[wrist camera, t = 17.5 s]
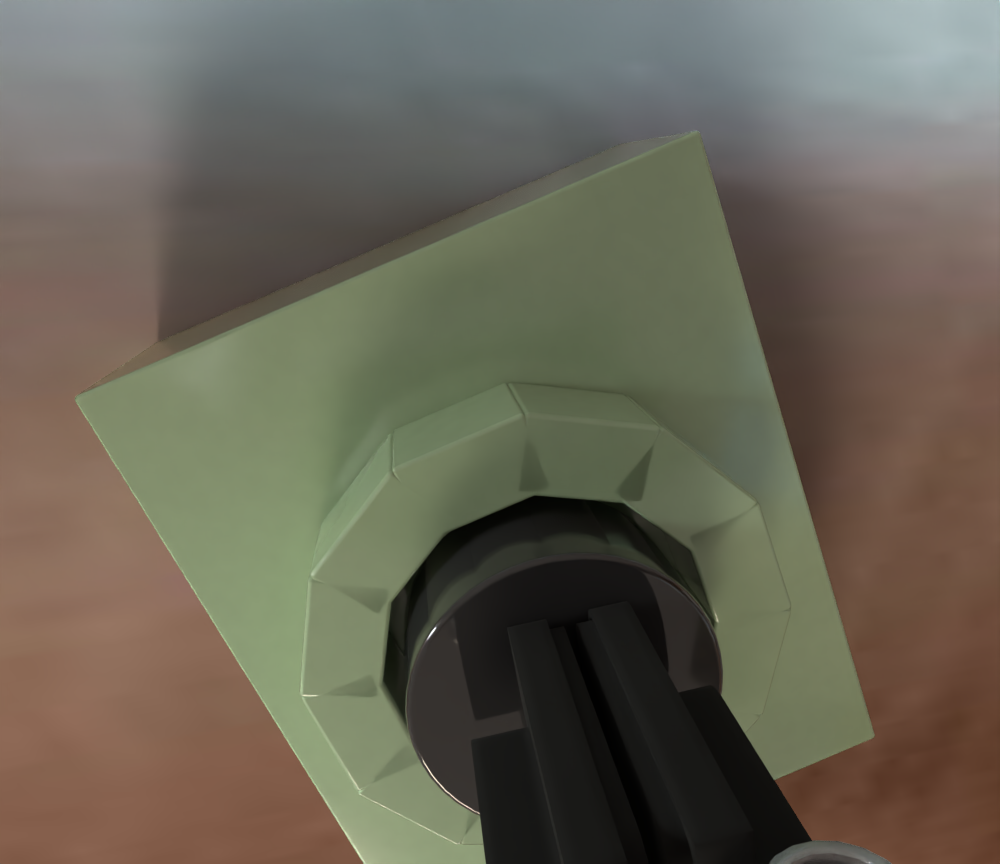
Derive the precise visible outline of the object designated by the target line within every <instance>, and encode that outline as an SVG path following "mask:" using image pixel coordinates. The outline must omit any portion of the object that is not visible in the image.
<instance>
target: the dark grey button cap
mask: <svg viewBox="0 0 1000 864" xmlns="http://www.w3.org/2000/svg"><path fill="white" fill-rule="evenodd" d="M625 601H628V602H629V603H630V605H631V607H632V608H633V610H634V612H635V614H636V616H637V618H638V619H639V621H640V623H641V625H642V627H643V629H644V630H645V632H646V634H647V636H648V638H649V640H650V641H651V643H652V645H653V647H654V649H655V651H656V652H657V654H658V656H659V658H660V660H661V662H662V663H663V665H664V667H665V669H666V671H667V673H668V674H669V676H670V678H671V680H672V682H673V684H674V685H675V687H676V689H677V691H678V692H682V691H687V690H691V689H695V688H700V687H704V686H708V685H711V686H713V687H715V688H716V689H717V691H718V692H719V693H720V695H721V694H722V685H723V665H722V656H721V650H720V646H719V642H718V639H717V635H716V633H715V630H714V628H713V626H712V624H711V622H710V619H709V618H708V616H707V615H706V613H705V611H704V610H703V608H702V607H701V605H700V604H699V602H698V601H697V600H696V598H695V597H694V596H693V594H692V593H691V591H690V590H689V589H688V587H687V586H686V584H685V583H684V582H683V580H682V579H681V577H680V576H679V575H678V573H677V572H676V571H675V569H674V568H673V566H672V565H671V564H670V562H669V561H668V559H667V558H666V557H665V555H664V554H663V553H662V551H661V550H660V548H659V547H658V546H657V544H656V543H655V541H654V540H653V539H652V538H651V537H650V536H649V534H648V533H647V532H646V531H645V530H644V529H643V528H642V527H641V526H640V525H639V524H637V523H636V522H635V521H634V520H632V519H631V518H630V517H628V516H627V515H625V514H624V513H622V512H620V511H619V510H617V509H615V508H613V507H611V506H609V505H606V504H604V503H602V502H599V501H595V500H583V499H571V498H559V497H547V496H535V495H534V496H532V497H530V498H527V499H525V500H523V501H520V502H518V503H516V504H513V505H511V506H509V507H506V508H504V509H502V510H499V511H497V512H494V513H492V514H490V515H487V516H485V517H483V518H480V519H478V520H476V521H473V522H471V523H469V524H466V525H464V526H462V527H459V528H457V529H455V530H452V531H450V532H449V533H448V534H447V535H446V536H444V537H443V538H442V540H441V541H440V542H439V543H438V545H437V546H436V547H435V548H434V550H433V551H432V552H431V553H430V555H429V556H428V557H427V558H426V560H425V561H424V562H423V564H422V565H421V567H420V569H419V571H418V573H417V575H416V577H415V579H414V580H413V583H412V586H411V589H410V592H409V595H408V598H407V603H406V608H405V613H404V669H405V712H406V721H407V729H408V732H409V736H410V740H411V743H412V746H413V748H414V751H415V753H416V755H417V757H418V759H419V761H420V763H421V764H422V766H423V767H424V769H425V770H426V772H427V774H428V775H429V776H430V778H431V779H432V780H433V781H434V782H435V783H436V784H437V786H438V787H439V788H440V789H441V790H442V791H443V792H444V793H445V794H446V795H448V796H449V797H450V798H451V799H453V800H454V801H455V802H456V803H458V804H459V805H461V806H463V807H464V808H466V809H467V810H469V811H471V812H472V813H475V814H477V815H479V816H480V813H479V805H478V797H477V788H476V780H475V772H474V764H473V756H472V747H471V740H473V739H477V738H482V737H486V736H491V735H495V734H499V733H504V732H508V731H512V730H517V729H521V728H525V727H527V725H526V720H525V715H524V710H523V705H522V700H521V695H520V690H519V685H518V680H517V675H516V670H515V665H514V660H513V655H512V650H511V645H510V640H509V635H508V630H507V627H512V626H516V625H521V624H525V623H530V622H534V621H539V620H543V619H546V620H547V623H548V625H549V628H550V629H553V628H558V627H562V626H564V628H565V630H566V633H567V635H568V638H569V641H570V644H571V646H572V649H573V652H574V654H575V657H576V660H577V663H578V665H579V668H580V671H581V673H582V676H583V670H582V664H581V658H580V652H579V646H578V640H577V634H576V623H580V622H585V621H589V619H588V610H589V609H593V608H598V607H602V606H607V605H611V604H616V603H620V602H625ZM583 679H584V676H583Z"/></svg>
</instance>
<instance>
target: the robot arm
mask: <svg viewBox="0 0 1000 864" xmlns="http://www.w3.org/2000/svg"><path fill="white" fill-rule="evenodd" d="M588 619H589V621H585V622H580V623H576V634H577V640H578V646H579V652H580V658H581V664H582V670H583V676H584V679H583V676H582V673H581V671H580V668H579V665H578V663H577V660H576V657H575V654H574V652H573V649H572V646H571V644H570V641H569V638H568V635H567V633H566V630H565V628H564V626H562V627H558V628H553V629H550V628H549V625H548V623H547V620H546V619H543V620H539V621H534V622H530V623H525V624H521V625H516V626H512V627H507V630H508V635H509V640H510V645H511V650H512V655H513V660H514V665H515V670H516V675H517V680H518V685H519V690H520V695H521V700H522V705H523V710H524V715H525V720H526V725H527V727H525V728H521V729H517V730H512V731H508V732H504V733H499V734H495V735H491V736H486V737H482V738H477V739H473V740H471V747H472V756H473V764H474V772H475V780H476V788H477V797H478V805H479V813H480V821H481V829H482V837H483V845H484V853H485V861H486V864H891V863H890V862H889V861H888V860H886V859H884V858H882V857H880V856H878V855H876V854H874V853H872V852H870V851H869V850H867V849H865V848H862V847H858V846H855V845H851V844H847V843H843V842H839V841H812V840H811V838H810V837H809V835H808V834H807V832H806V830H805V829H804V827H803V826H802V824H801V822H800V821H799V819H798V818H797V816H796V814H795V813H794V811H793V810H792V808H791V806H790V805H789V803H788V802H787V800H786V798H785V797H784V795H783V794H782V792H781V790H780V789H779V787H778V786H777V784H776V782H775V781H774V779H773V778H772V776H771V774H770V773H769V771H768V770H767V768H766V766H765V765H764V763H763V762H762V760H761V758H760V757H759V755H758V754H757V752H756V750H755V749H754V747H753V746H752V744H751V742H750V741H749V739H748V738H747V736H746V734H745V733H744V731H743V730H742V728H741V726H740V725H739V723H738V722H737V720H736V718H735V717H734V715H733V714H732V712H731V710H730V709H729V707H728V706H727V704H726V702H725V701H724V699H723V698H722V696H721V695H720V693H719V692H718V691H717V689H716V688H715V687H713V686H711V685H708V686H704V687H700V688H695V689H691V690H687V691H682V692H678V691H677V689H676V687H675V685H674V684H673V682H672V680H671V678H670V676H669V674H668V673H667V671H666V669H665V667H664V665H663V663H662V662H661V660H660V658H659V656H658V654H657V652H656V651H655V649H654V647H653V645H652V643H651V641H650V640H649V638H648V636H647V634H646V632H645V630H644V629H643V627H642V625H641V623H640V621H639V619H638V618H637V616H636V614H635V612H634V610H633V608H632V607H631V605H630V603H629V602H628V601H625V602H620V603H616V604H611V605H607V606H602V607H598V608H593V609H589V610H588Z"/></svg>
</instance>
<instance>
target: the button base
mask: <svg viewBox="0 0 1000 864" xmlns="http://www.w3.org/2000/svg"><path fill="white" fill-rule="evenodd" d="M75 401H76V403H77V404H78V406H79V408H80V409H81V411H82V413H83V414H84V416H85V417H86V419H87V421H88V422H89V424H90V425H91V427H92V429H93V430H94V432H95V433H96V435H97V437H98V438H99V440H100V441H101V443H102V445H103V446H104V448H105V449H106V451H107V453H108V454H109V456H110V457H111V459H112V461H113V462H114V464H115V465H116V467H117V469H118V470H119V472H120V473H121V475H122V477H123V478H124V480H125V482H126V483H127V485H128V486H129V488H130V490H131V491H132V493H133V494H134V496H135V498H136V499H137V501H138V502H139V504H140V506H141V507H142V509H143V510H144V512H145V514H146V515H147V517H148V518H149V520H150V522H151V523H152V525H153V526H154V528H155V530H156V531H157V533H158V534H159V536H160V538H161V539H162V541H163V542H164V544H165V546H166V547H167V549H168V551H169V552H170V554H171V555H172V557H173V559H174V560H175V562H176V563H177V565H178V567H179V568H180V570H181V571H182V573H183V575H184V576H185V578H186V579H187V581H188V583H189V584H190V586H191V587H192V589H193V591H194V592H195V594H196V595H197V597H198V599H199V600H200V602H201V603H202V605H203V607H204V608H205V610H206V611H207V613H208V615H209V616H210V618H211V620H212V621H213V623H214V624H215V626H216V628H217V629H218V631H219V632H220V634H221V636H222V637H223V639H224V640H225V642H226V644H227V645H228V647H229V648H230V650H231V652H232V653H233V655H234V656H235V658H236V660H237V661H238V663H239V664H240V666H241V668H242V669H243V671H244V672H245V674H246V676H247V677H248V679H249V681H250V682H251V684H252V685H253V687H254V689H255V690H256V692H257V693H258V695H259V697H260V698H261V700H262V701H263V703H264V705H265V706H266V708H267V709H268V711H269V713H270V714H271V716H272V717H273V719H274V721H275V722H276V724H277V725H278V727H279V729H280V730H281V732H282V733H283V735H284V737H285V738H286V740H287V741H288V743H289V745H290V746H291V748H292V750H293V751H294V753H295V754H296V756H297V758H298V759H299V761H300V762H301V764H302V766H303V767H304V769H305V770H306V772H307V774H308V775H309V777H310V778H311V780H312V782H313V783H314V785H315V786H316V788H317V790H318V791H319V793H320V794H321V796H322V798H323V799H324V801H325V802H326V804H327V806H328V807H329V809H330V810H331V812H332V814H333V815H334V817H335V819H336V820H337V822H338V823H339V825H340V827H341V828H342V830H343V831H344V833H345V835H346V836H347V838H348V839H349V841H350V843H351V844H352V846H353V847H354V849H355V851H356V852H357V854H358V855H359V857H360V859H361V860H362V862H363V863H364V864H486V861H485V853H484V845H483V837H482V829H481V821H480V816H479V815H477V814H475V813H472V812H471V811H469V810H467V809H466V808H464V807H463V806H461V805H459V804H458V803H456V802H455V801H454V800H453V799H451V798H450V797H449V796H448V795H446V794H445V793H444V792H443V791H442V790H441V789H440V788H439V787H438V786H437V784H436V783H435V782H434V781H433V780H432V779H431V778H430V776H429V775H428V774H427V772H426V770H425V769H424V767H423V766H422V764H421V763H420V761H419V759H418V757H417V755H416V753H415V751H414V748H413V746H412V743H411V740H410V736H409V732H408V729H407V721H406V712H405V669H404V613H405V608H406V603H407V598H408V595H409V592H410V589H411V586H412V583H413V580H414V579H415V577H416V575H417V573H418V571H419V569H420V567H421V565H422V564H423V562H424V561H425V560H426V558H427V557H428V556H429V555H430V553H431V552H432V551H433V550H434V548H435V547H436V546H437V545H438V543H439V542H440V541H441V540H442V538H443V537H444V536H446V535H447V534H448V533H449V532H450V531H452V530H455V529H457V528H459V527H462V526H464V525H466V524H469V523H471V522H473V521H476V520H478V519H480V518H483V517H485V516H487V515H490V514H492V513H494V512H497V511H499V510H502V509H504V508H506V507H509V506H511V505H513V504H516V503H518V502H520V501H523V500H525V499H527V498H530V497H532V496H534V495H535V496H547V497H559V498H571V499H583V500H595V501H599V502H602V503H604V504H606V505H609V506H611V507H613V508H615V509H617V510H619V511H620V512H622V513H624V514H625V515H627V516H628V517H630V518H631V519H632V520H634V521H635V522H636V523H637V524H639V525H640V526H641V527H642V528H643V529H644V530H645V531H646V532H647V533H648V534H649V536H650V537H651V538H652V539H653V540H654V541H655V543H656V544H657V546H658V547H659V548H660V550H661V551H662V553H663V554H664V555H665V557H666V558H667V559H668V561H669V562H670V564H671V565H672V566H673V568H674V569H675V571H676V572H677V573H678V575H679V576H680V577H681V579H682V580H683V582H684V583H685V584H686V586H687V587H688V589H689V590H690V591H691V593H692V594H693V596H694V597H695V598H696V600H697V601H698V602H699V604H700V605H701V607H702V608H703V610H704V611H705V613H706V615H707V616H708V618H709V619H710V622H711V624H712V626H713V628H714V630H715V633H716V635H717V639H718V642H719V646H720V650H721V656H722V665H723V685H722V694H721V696H722V698H723V699H724V701H725V702H726V704H727V706H728V707H729V709H730V710H731V712H732V714H733V715H734V717H735V718H736V720H737V722H738V723H739V725H740V726H741V728H742V730H743V731H744V733H745V734H746V736H747V738H748V739H749V741H750V742H751V744H752V746H753V747H754V749H755V750H756V752H757V754H758V755H759V757H760V758H761V760H762V762H763V763H764V765H765V766H766V768H767V770H768V771H769V773H770V774H771V776H772V778H773V779H774V780H776V779H778V778H781V777H783V776H785V775H788V774H790V773H793V772H795V771H797V770H800V769H802V768H804V767H807V766H809V765H811V764H814V763H816V762H818V761H821V760H823V759H825V758H828V757H830V756H832V755H835V754H837V753H840V752H842V751H844V750H847V749H849V748H851V747H854V746H856V745H858V744H861V743H863V742H865V741H868V740H870V739H872V738H874V737H875V734H874V731H873V727H872V724H871V720H870V717H869V713H868V710H867V706H866V703H865V700H864V696H863V693H862V689H861V686H860V682H859V679H858V675H857V672H856V669H855V665H854V662H853V658H852V655H851V651H850V648H849V644H848V641H847V638H846V634H845V631H844V627H843V624H842V620H841V617H840V613H839V610H838V607H837V603H836V600H835V596H834V593H833V589H832V586H831V582H830V579H829V576H828V572H827V569H826V565H825V562H824V558H823V555H822V551H821V548H820V545H819V541H818V538H817V534H816V531H815V527H814V524H813V520H812V517H811V514H810V510H809V507H808V503H807V500H806V496H805V493H804V489H803V486H802V483H801V479H800V476H799V472H798V469H797V465H796V462H795V458H794V455H793V452H792V448H791V445H790V441H789V438H788V434H787V431H786V427H785V424H784V421H783V417H782V414H781V410H780V407H779V403H778V400H777V396H776V393H775V390H774V386H773V383H772V379H771V376H770V372H769V369H768V365H767V362H766V359H765V355H764V352H763V348H762V345H761V341H760V338H759V334H758V331H757V328H756V324H755V321H754V317H753V314H752V310H751V307H750V303H749V300H748V297H747V293H746V290H745V286H744V283H743V279H742V276H741V272H740V269H739V265H738V262H737V259H736V255H735V252H734V248H733V245H732V241H731V238H730V234H729V231H728V228H727V224H726V221H725V217H724V214H723V210H722V207H721V203H720V200H719V197H718V193H717V190H716V186H715V183H714V179H713V176H712V172H711V169H710V166H709V162H708V159H707V155H706V152H705V148H704V145H703V141H702V138H701V135H700V133H699V132H698V131H692V132H686V133H680V134H674V135H669V136H663V137H657V138H651V139H645V140H640V141H634V142H628V143H622V144H618V145H616V146H614V147H611V148H609V149H607V150H604V151H602V152H600V153H597V154H595V155H593V156H590V157H588V158H586V159H583V160H581V161H579V162H576V163H574V164H572V165H569V166H567V167H565V168H562V169H560V170H558V171H555V172H553V173H551V174H548V175H546V176H544V177H541V178H539V179H537V180H534V181H532V182H530V183H527V184H525V185H523V186H520V187H518V188H516V189H513V190H511V191H509V192H506V193H504V194H502V195H499V196H497V197H495V198H492V199H490V200H488V201H485V202H483V203H481V204H478V205H476V206H474V207H471V208H469V209H467V210H464V211H462V212H460V213H457V214H455V215H453V216H450V217H448V218H446V219H443V220H441V221H439V222H436V223H434V224H432V225H429V226H427V227H425V228H422V229H420V230H418V231H415V232H413V233H411V234H408V235H406V236H404V237H401V238H399V239H397V240H394V241H392V242H389V243H387V244H385V245H382V246H380V247H378V248H375V249H373V250H371V251H368V252H366V253H364V254H361V255H359V256H357V257H354V258H352V259H350V260H347V261H345V262H343V263H340V264H338V265H336V266H333V267H331V268H329V269H326V270H324V271H322V272H319V273H317V274H315V275H312V276H310V277H308V278H305V279H303V280H301V281H298V282H296V283H294V284H291V285H289V286H287V287H284V288H282V289H280V290H277V291H275V292H273V293H270V294H268V295H266V296H263V297H261V298H259V299H256V300H254V301H252V302H249V303H247V304H245V305H242V306H240V307H238V308H235V309H233V310H231V311H228V312H226V313H224V314H221V315H219V316H217V317H214V318H212V319H210V320H207V321H205V322H203V323H200V324H198V325H196V326H193V327H191V328H189V329H186V330H184V331H182V332H179V333H177V334H175V335H172V336H170V337H168V338H165V339H163V340H161V341H158V342H156V343H155V344H153V345H152V346H150V347H149V348H147V349H146V350H144V351H143V352H141V353H140V354H138V355H137V356H135V357H134V358H132V359H131V360H129V361H128V362H126V363H125V364H123V365H122V366H120V367H119V368H117V369H116V370H114V371H113V372H111V373H110V374H108V375H107V376H105V377H104V378H102V379H101V380H99V381H98V382H96V383H95V384H93V385H92V386H90V387H89V388H87V389H86V390H84V391H83V392H81V393H80V394H78V395H77V396H76V397H75Z"/></svg>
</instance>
